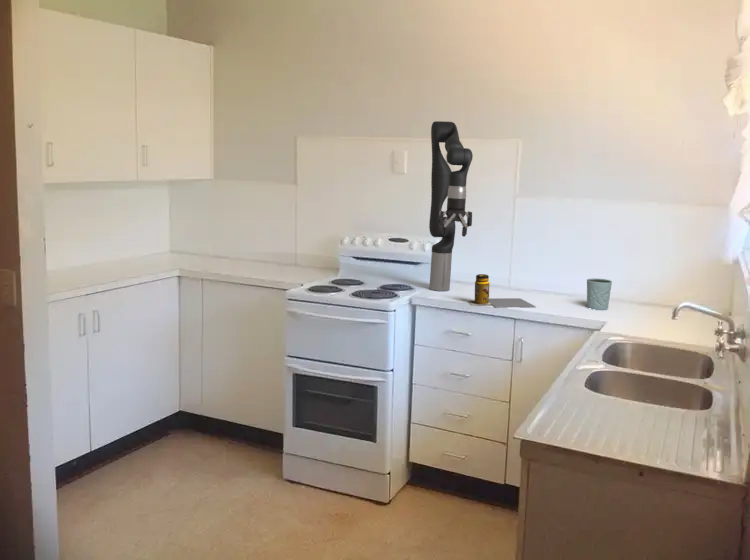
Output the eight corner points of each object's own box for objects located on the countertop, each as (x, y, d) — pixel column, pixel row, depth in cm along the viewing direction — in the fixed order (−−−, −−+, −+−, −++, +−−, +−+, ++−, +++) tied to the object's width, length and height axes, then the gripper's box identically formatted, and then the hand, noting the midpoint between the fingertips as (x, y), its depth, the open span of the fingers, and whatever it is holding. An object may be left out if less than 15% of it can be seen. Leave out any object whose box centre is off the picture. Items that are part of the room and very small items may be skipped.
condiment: (491, 304, 317) (492, 276, 314) (471, 305, 316) (472, 277, 313) (486, 300, 324) (487, 273, 321) (467, 301, 323) (468, 273, 320)
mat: (481, 299, 328) (481, 298, 328) (520, 299, 332) (520, 298, 332) (495, 307, 313) (495, 306, 313) (535, 307, 317) (535, 306, 317)
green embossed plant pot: (610, 311, 316) (613, 283, 313) (585, 309, 318) (587, 281, 315) (607, 306, 325) (610, 279, 323) (583, 304, 327) (586, 277, 325)
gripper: (469, 196, 318) (467, 235, 321) (437, 195, 314) (434, 234, 318) (476, 198, 311) (473, 237, 314) (443, 197, 307) (440, 237, 310)
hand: (454, 236), depth 316 cm, fingers open, 8 cm apart
